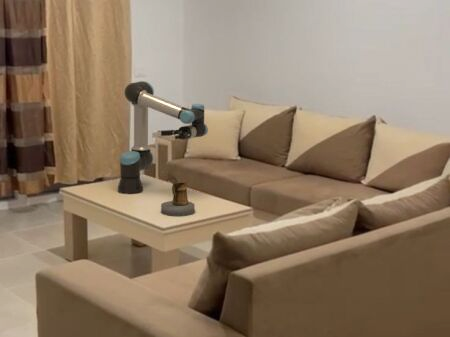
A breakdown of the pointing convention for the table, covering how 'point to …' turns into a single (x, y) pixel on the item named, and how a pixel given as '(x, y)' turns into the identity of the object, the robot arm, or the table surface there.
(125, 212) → the table surface
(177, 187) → the wooden mug
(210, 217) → the table surface
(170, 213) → the charcoal plinth
